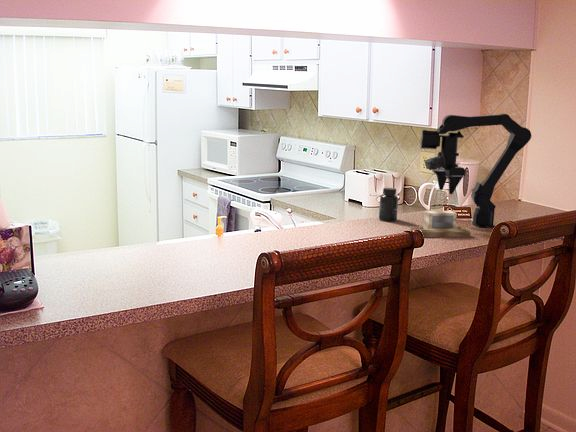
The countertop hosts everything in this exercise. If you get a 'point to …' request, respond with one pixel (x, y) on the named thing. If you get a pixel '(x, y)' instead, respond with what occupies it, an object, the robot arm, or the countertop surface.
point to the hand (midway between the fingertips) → (445, 191)
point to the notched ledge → (444, 232)
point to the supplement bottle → (388, 205)
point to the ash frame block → (440, 220)
